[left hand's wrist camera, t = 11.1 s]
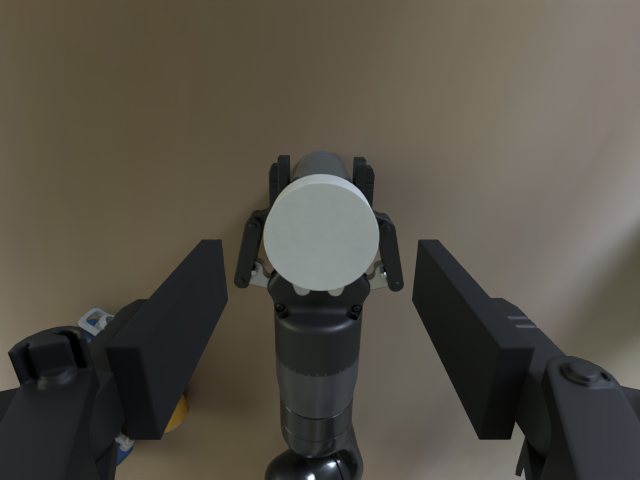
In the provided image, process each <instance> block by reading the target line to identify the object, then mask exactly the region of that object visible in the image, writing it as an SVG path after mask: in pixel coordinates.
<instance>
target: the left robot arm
mask: <svg viewBox="0 0 640 480" xmlns="http://www.w3.org/2000/svg"><path fill="white" fill-rule="evenodd" d="M227 301H228V296H227V287H226V278H225V268H224V259H223V250H222V241H221V240H201V242H200V243H199V244H198V245H197V246H196V247H195V248H194V249H193V250H192V251H191V253H190V254H189V255H188V256H187V257H186V258H185V259H184V260H183V261H182V263H181V264H180V265H179V266H178V267H177V268H176V269H175V270H174V271H173V272H172V274H171V275H170V276H169V277H168V278H167V279H166V280H165V281H164V282H163V284H162V285H161V286H160V287H159V288H158V289H157V290H156V291H155V292H154V293H153V295H152V296H151V297H150V298H149V299H138V300H136V301H134V302H133V303H131V304H129V305H127V306H126V307H124V308H122V309H121V310H120V311H119V312H118V313H117V315H116V316H115V317H114V318H113V320H112V321H110V322H109V323H108V324H107V325H106V326H105V327H104V329H102V330H101V331H100V332H99V333H98V334H97V335H96V336H95V337H94V338H93V339H92V340H91V341H90V342H89V343H88V342H87V339H86V335H85V332H84V330H82V329H81V328H79V327H74V326H62V327H55V328H51V329H47V330H44V331H41V332H38V333H36V334H34V335H31V336H29V337H27V338H25V339H24V340H22V341H21V342H19V343H17V344H16V345H15V346H14V347H13V348H12V349H11V350H10V351H9V352H8V354H9V357H10V359H11V362H12V365H13V367H14V370H15V372H16V375H17V377H18V380H19V382H20V387H19V388H15V389H10V390H5V391H1V392H0V480H114V479H115V471H116V464H117V457H118V448H117V443H116V439H115V437H116V435H117V434H118V432H119V431H120V429H121V427H122V426H123V424H124V423H125V425H126V428H127V432H128V436H129V439H130V440H161V438H162V436H163V434H164V432H165V429H166V427H167V425H168V423H169V421H170V419H171V417H172V415H173V413H174V411H175V409H176V407H177V405H178V403H179V400H180V398H181V396H182V394H183V392H184V390H185V388H186V386H187V384H188V382H189V380H190V378H191V376H192V374H193V371H194V369H195V367H196V365H197V363H198V361H199V359H200V357H201V355H202V353H203V351H204V349H205V347H206V345H207V343H208V340H209V338H210V336H211V334H212V332H213V330H214V328H215V326H216V324H217V322H218V320H219V318H220V316H221V314H222V311H223V309H224V307H225V305H226V303H227ZM412 301H413V303H414V305H415V307H416V309H417V311H418V314H419V316H420V318H421V320H422V322H423V324H424V326H425V328H426V330H427V332H428V334H429V336H430V338H431V340H432V343H433V345H434V347H435V349H436V351H437V353H438V355H439V357H440V359H441V361H442V363H443V365H444V367H445V369H446V372H447V374H448V376H449V378H450V380H451V382H452V384H453V386H454V388H455V390H456V392H457V394H458V396H459V398H460V400H461V403H462V405H463V407H464V409H465V411H466V413H467V415H468V417H469V419H470V421H471V423H472V425H473V427H474V429H475V432H476V434H477V436H478V438H479V440H510V439H511V436H512V432H513V428H514V425H515V421H516V422H517V424H518V426H519V427H520V429H521V430H522V432H523V434H524V435H525V439H524V443H523V446H522V450H521V453H520V457H519V460H518V464H517V467H516V474H515V475H517V476H520V477H521V474H522V470H523V468H524V470H525V478H526V480H640V390H638V389H633V388H628V387H623V386H620V384H619V383H618V382H617V380H616V379H615V378H614V377H613V376H612V375H611V374H610V373H608V372H607V371H605V370H604V369H603V368H601V367H599V366H597V365H595V364H593V363H591V362H589V361H587V360H583V359H580V358H577V357H573V356H566V355H565V354H564V353H563V352H562V351H561V350H560V349H559V348H558V347H557V346H556V345H555V344H554V343H553V342H552V341H551V340H550V339H549V338H548V337H547V336H546V335H545V334H544V333H543V332H542V331H541V330H540V329H539V328H537V327H536V325H535V324H534V323H533V322H532V321H531V320H530V319H528V317H527V316H526V315H525V314H524V313H523V312H522V311H521V310H520V309H519V308H518V307H517V306H515V305H513V304H511V303H510V302H508V301H506V300H504V299H503V298H490V297H489V296H488V295H487V293H486V292H485V291H484V290H483V289H482V288H481V287H480V286H479V285H478V284H477V282H476V281H475V280H474V279H473V278H472V277H471V276H470V275H469V274H468V272H467V271H466V270H465V269H464V268H463V267H462V266H461V265H460V264H459V263H458V261H457V260H456V259H455V258H454V257H453V256H452V255H451V254H450V253H449V251H448V250H447V249H446V248H445V247H444V246H443V245H442V244H441V243H440V242H439V240H419V241H418V250H417V259H416V268H415V278H414V287H413V296H412Z"/></svg>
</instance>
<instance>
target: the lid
mask: <svg viewBox="0 0 640 480" xmlns="http://www.w3.org/2000/svg"><path fill="white" fill-rule="evenodd" d="M378 244H379V229H378V224H377V221H376V218H375V216H374V213H373V211H372V209H371V207H370V205H369V203H368V201H367V200H366V198H365V196H364V195H363V194H362V193H361V191H360V190H359V189H358V188H357V187H356V186H354V185H353V184H352V183H350V182H349V181H347V180H345V179H343V178H340V177H337V176H333V175H328V174H315V175H309V176H306V177H303V178H300V179H298V180H296V181H294V182H293V183H291V184H290V185H288V186H287V187H286V188H285V189H284V190H283V191H282V192H281V193H280V194H279V196H278V197H277V199H276V201H275V203H274V205H273V207H272V209H271V211H270V213H269V215H268V217H267V220H266V223H265V227H264V246H265V250H266V254H267V256H268V258H269V260H270V262H271V264H272V266H273V267H274V268H275V269H276V271H277V272H278V273H279V274H280V275H281V276H282V277H284V278H285V279H286V280H287V281H289V282H291V283H292V284H294V285H297V286H299V287H302V288H305V289H309V290H316V291H327V290H334V289H338V288H341V287H344V286H346V285H348V284H350V283H352V282H354V281H355V280H357V279H358V278H359V277H360V276H361V275H363V274H364V273H365V272H366V270H367V269H368V268H369V267H370V265H371V263H372V262H373V260H374V258H375V255H376V253H377V249H378Z"/></svg>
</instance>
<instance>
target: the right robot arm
mask: <svg viewBox="0 0 640 480" xmlns="http://www.w3.org/2000/svg"><path fill="white" fill-rule="evenodd" d="M352 184H353V185H354V186H356V187H357V188H358V189H359V190H360V191H361V193H362V194H363V195H364V196H365V198H366V200H367V201H368V203H369V205H370V207H371V209H372V201H373V188H374V172H373V169H372V168H371V166H370V165H366V159H365V158H364V157H354V164H353V182H352ZM288 185H290V156H289V155H280V156H279V157H278V163H273V165H272V166H271V168H270V171H269V196H270V207H269V208H267V209H264V210H261V211H260V210H256V211H254V212H253V213H252V214H251V216H250V218H249V219H248V220H247V222H246V224H245V228H244V233H243V238H242V243H241V248H240V253H239V258H238V263H237V268H236V273H235V278H234V283H235V285H236V286H237V287H239V288H246V287H247V286H248V285H249V284H252V285H256V286H260V287H265V288H267V289H268V292H269V294H270V295H271V297H272V299H273V301H274V315H275V346H276V372H277V380H278V384H279V390H280V418H281V430H282V435H283V437H284V440H285V442H286V443H287V445H288V446H289V447H290V449H288V450H286V451H285V452H283V453H281V454H280V455H278V456H277V457H276V458H275V459H273V460H272V461H271V463H270V464H269V465H268V467H267V469H266V473H265V478H264V480H361V478H362V474H363V461H362V457H361V454H360V451H359V448H358V444H357V441H356V437H355V432H354V428H353V425H352V420H351V419H352V405H353V393H354V388H355V384H356V380H357V374H358V362H359V348H360V335H361V322H362V308H363V303H364V301H365V299H366V297H367V296H368V295H369V293H370V290H373V289H378V288H383V287H389V288H390V290H392V291H395V292H396V291H400V290H401V289H402V288H403V286H404V283H403V276H402V270H401V263H400V257H399V250H398V244H397V237H396V231H395V226H394V225H393V223H392V221H391V220H390V218H389V217H388V215H387V214H385V213H379V212H376V211H374V210H373V209H372V211H373V213H374V216H375V218H376V221H377V224H378V229H379V250H380V256H381V260H379V261H377V262H376V263H375V264H374V270H373V272H372V273H371V274H370V275H366V273H364V274H363V275H361V276H360V277H359V278H358V279H357V280H355V281H354V282H352V283H350V284H348V285H346V286H344V287H341V288H338V289H334V290H327V291H316V290H309V289H305V288H302V287H299V286H297V285H294V284H292V283H291V282H289V281H287V280H286V279H285V278H284V277H282V276H281V275H280V274H279V273H278V272H277V271H276V269H274V270H273V272H272V273H271V274H270V273H268V272H267V271H266V270H265V263H264V261H263V260H262V259H260V258H257V257H258V252H259V248H260V243H261V238H262V234H263V230H264V227H265V223H266V220H267V217H268V215H269V213H270V211H271V209H272V207H273V205H274V203H275V201H276V199H277V197H278V196H279V194H280V193H281V192H282V191H283V190H284V189H285V188H286V187H287V186H288Z"/></svg>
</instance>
